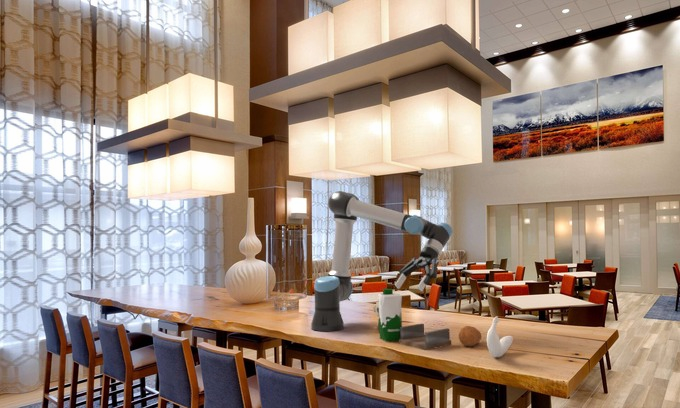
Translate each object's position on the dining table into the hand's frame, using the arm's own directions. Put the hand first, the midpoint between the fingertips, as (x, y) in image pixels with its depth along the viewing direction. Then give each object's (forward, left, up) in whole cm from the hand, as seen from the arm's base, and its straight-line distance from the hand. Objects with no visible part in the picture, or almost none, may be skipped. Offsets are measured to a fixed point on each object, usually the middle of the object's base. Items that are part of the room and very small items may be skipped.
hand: (407, 288), depth 184 cm
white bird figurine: (+43, +1, -20) cm, 47 cm away
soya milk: (0, -10, -20) cm, 22 cm away
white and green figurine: (-14, -1, -20) cm, 25 cm away
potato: (+26, +7, -20) cm, 33 cm away
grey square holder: (+14, -5, -20) cm, 25 cm away
